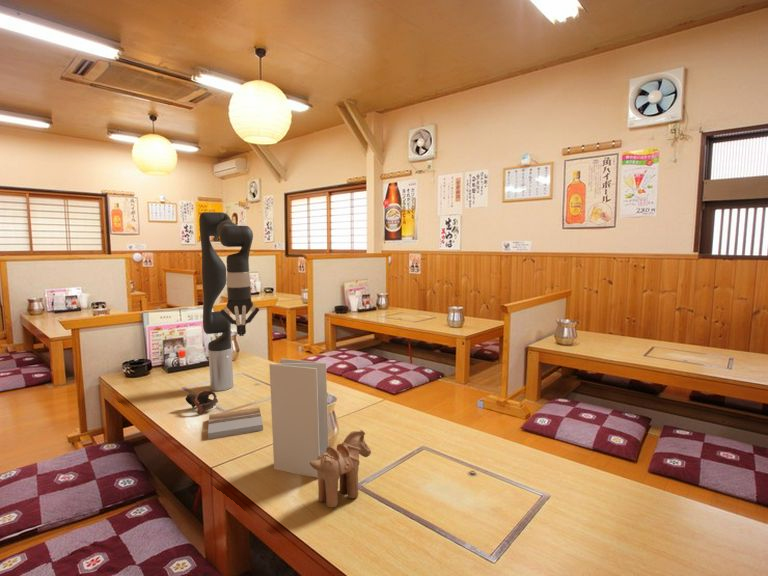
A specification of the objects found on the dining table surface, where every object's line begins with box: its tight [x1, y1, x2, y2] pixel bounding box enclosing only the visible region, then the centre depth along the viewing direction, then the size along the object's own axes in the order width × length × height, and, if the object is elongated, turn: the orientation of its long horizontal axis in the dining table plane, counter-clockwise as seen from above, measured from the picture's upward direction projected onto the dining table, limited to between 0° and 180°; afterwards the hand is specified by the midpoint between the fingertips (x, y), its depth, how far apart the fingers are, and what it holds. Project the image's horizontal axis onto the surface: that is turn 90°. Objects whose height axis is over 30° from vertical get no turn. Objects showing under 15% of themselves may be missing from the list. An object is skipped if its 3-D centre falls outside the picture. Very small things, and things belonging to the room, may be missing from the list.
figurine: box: [310, 429, 372, 508], centre depth 104 cm, size 7×18×15 cm, turn 132°
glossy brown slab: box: [208, 407, 262, 425], centre depth 149 cm, size 8×17×2 cm, turn 111°
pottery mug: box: [185, 389, 219, 415], centre depth 158 cm, size 12×10×8 cm
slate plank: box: [207, 415, 264, 440], centre depth 141 cm, size 7×17×2 cm, turn 111°
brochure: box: [269, 358, 329, 479], centre depth 115 cm, size 14×6×30 cm, turn 71°
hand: (241, 335), depth 144 cm, fingers closed
